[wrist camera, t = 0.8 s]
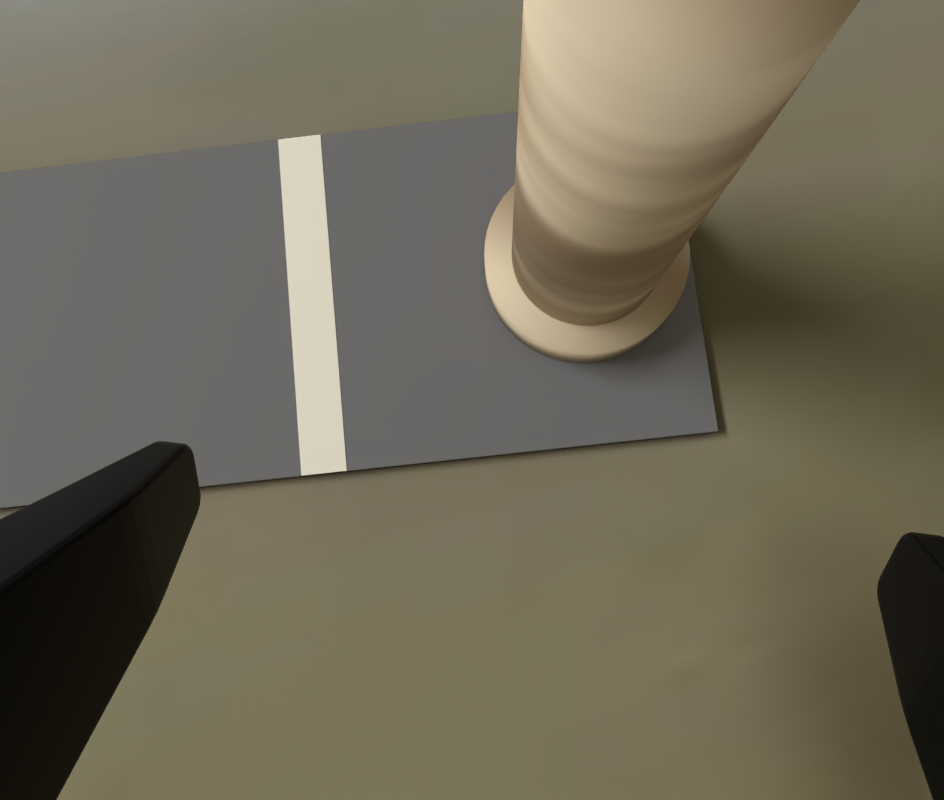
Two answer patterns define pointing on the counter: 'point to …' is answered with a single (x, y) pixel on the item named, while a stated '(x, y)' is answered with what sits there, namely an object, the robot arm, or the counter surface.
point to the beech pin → (632, 154)
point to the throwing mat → (296, 316)
